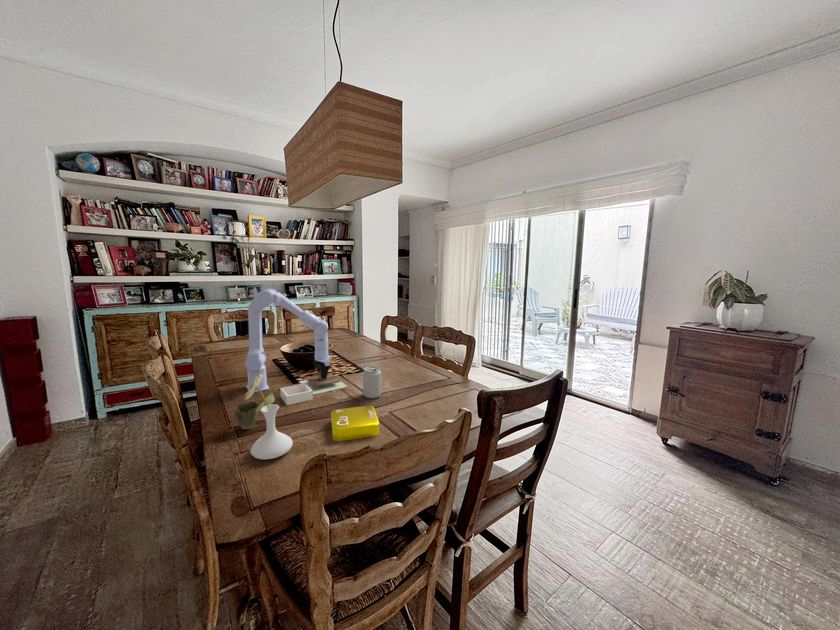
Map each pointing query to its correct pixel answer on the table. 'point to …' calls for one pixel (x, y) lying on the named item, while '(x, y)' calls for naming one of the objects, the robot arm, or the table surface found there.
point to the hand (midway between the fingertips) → (322, 376)
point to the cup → (246, 414)
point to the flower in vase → (268, 428)
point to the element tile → (354, 423)
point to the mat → (324, 386)
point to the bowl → (296, 394)
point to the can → (371, 382)
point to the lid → (322, 380)
